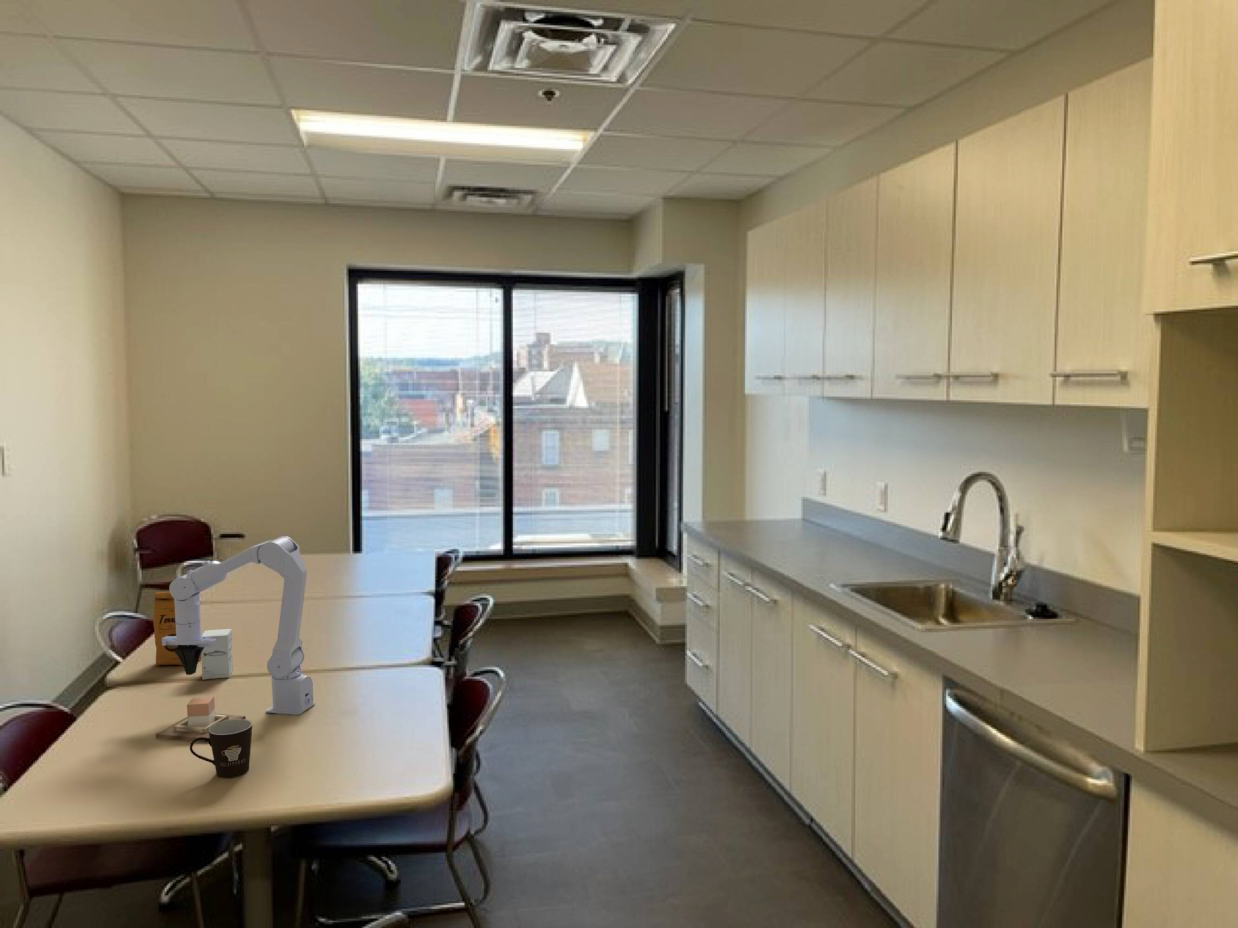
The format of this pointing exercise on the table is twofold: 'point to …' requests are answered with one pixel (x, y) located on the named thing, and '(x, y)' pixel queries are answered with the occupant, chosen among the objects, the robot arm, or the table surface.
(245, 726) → the coffee mug
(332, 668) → the table surface
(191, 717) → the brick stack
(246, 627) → the table surface
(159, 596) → the coffee package
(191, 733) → the walnut board
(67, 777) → the table surface
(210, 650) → the supplement box
